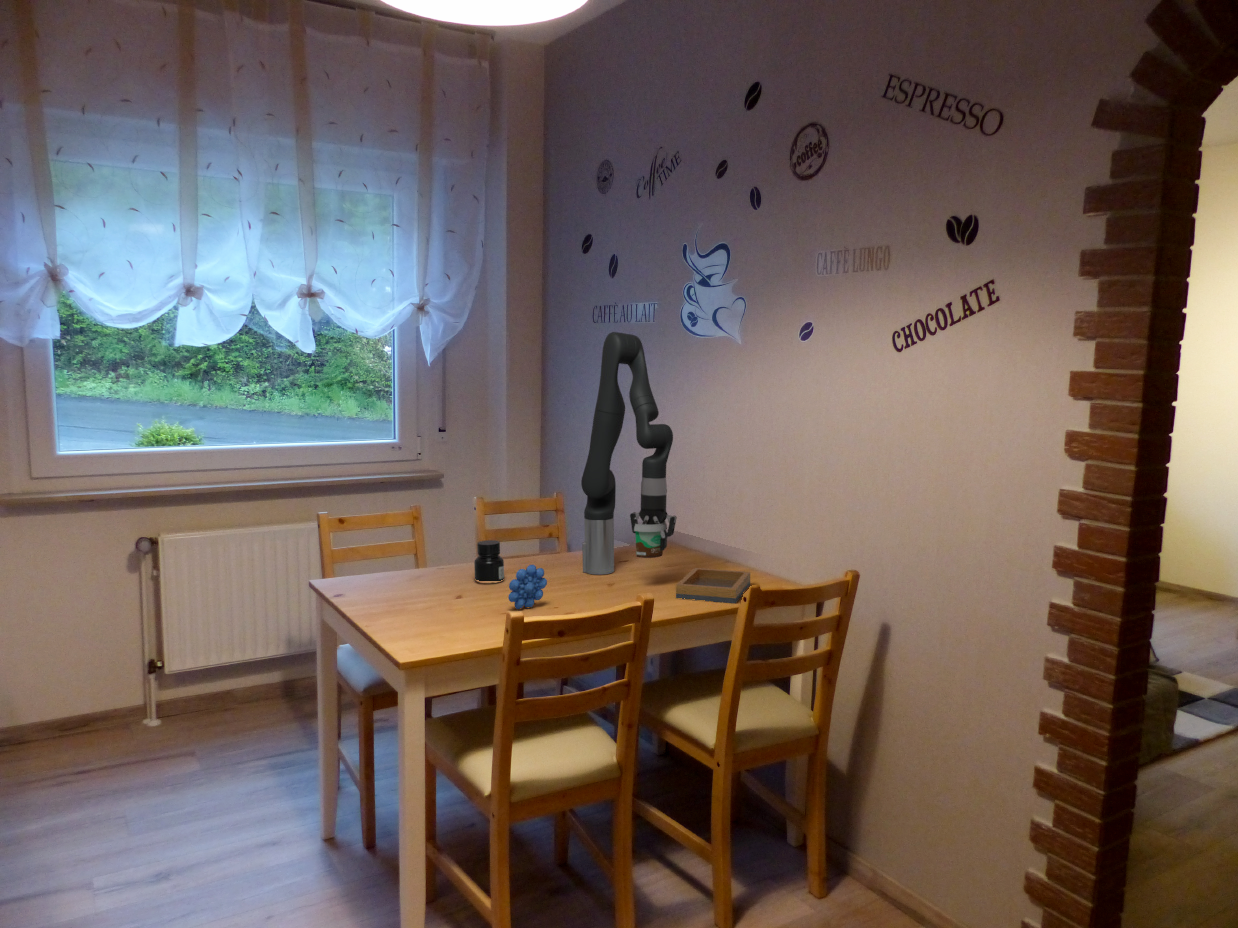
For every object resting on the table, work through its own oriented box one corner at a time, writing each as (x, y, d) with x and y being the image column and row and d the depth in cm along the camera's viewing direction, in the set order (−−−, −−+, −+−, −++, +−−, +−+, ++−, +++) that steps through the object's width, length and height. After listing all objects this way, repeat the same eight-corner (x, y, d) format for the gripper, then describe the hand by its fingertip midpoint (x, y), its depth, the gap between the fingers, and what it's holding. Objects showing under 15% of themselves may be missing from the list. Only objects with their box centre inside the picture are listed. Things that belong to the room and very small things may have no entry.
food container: (650, 560, 262) (651, 526, 260) (633, 557, 265) (633, 523, 264) (674, 553, 271) (675, 520, 270) (657, 550, 275) (658, 518, 274)
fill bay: (675, 598, 256) (675, 584, 256) (694, 580, 276) (694, 567, 276) (735, 603, 251) (735, 589, 250) (750, 584, 271) (750, 571, 270)
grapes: (539, 601, 255) (538, 559, 253) (551, 606, 249) (550, 563, 248) (501, 608, 249) (500, 564, 247) (513, 613, 243) (512, 569, 242)
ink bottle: (508, 582, 276) (507, 543, 274) (480, 586, 272) (479, 546, 270) (498, 575, 284) (497, 538, 283) (470, 579, 280) (469, 540, 279)
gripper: (626, 492, 265) (625, 549, 268) (673, 496, 260) (672, 553, 263) (634, 488, 272) (633, 544, 275) (681, 492, 267) (679, 548, 270)
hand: (652, 548), depth 269 cm, fingers closed on food container, 5 cm apart
